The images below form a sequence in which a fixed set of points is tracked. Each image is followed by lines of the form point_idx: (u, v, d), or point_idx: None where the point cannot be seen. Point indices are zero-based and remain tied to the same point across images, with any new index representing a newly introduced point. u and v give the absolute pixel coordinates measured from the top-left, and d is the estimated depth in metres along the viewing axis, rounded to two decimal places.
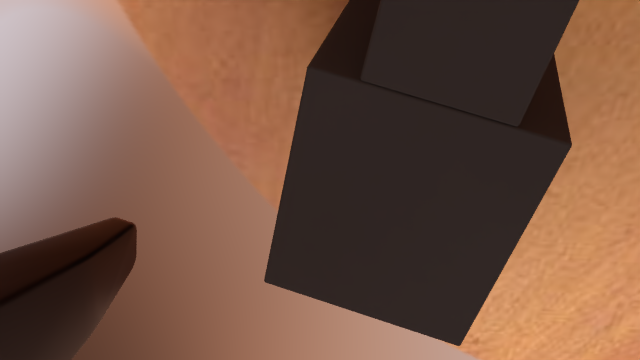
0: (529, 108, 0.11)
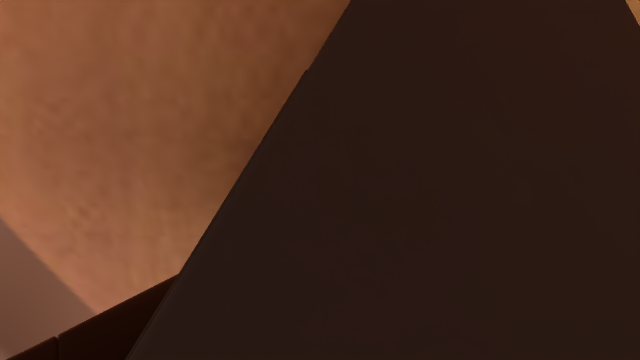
0: None
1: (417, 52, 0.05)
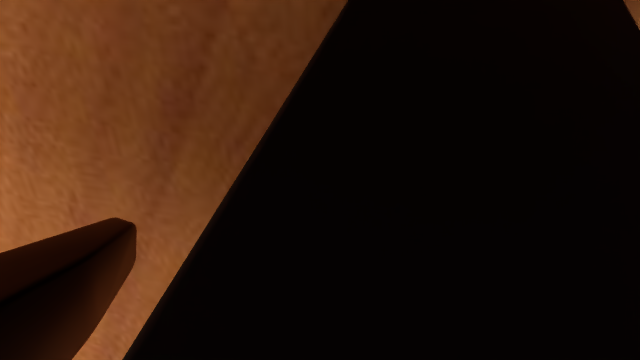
0: None
1: (418, 38, 0.05)
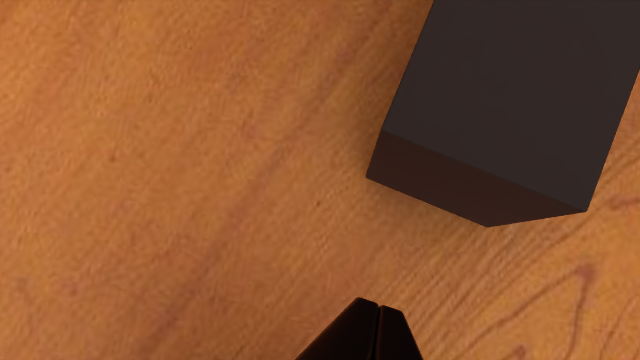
0: None
1: None
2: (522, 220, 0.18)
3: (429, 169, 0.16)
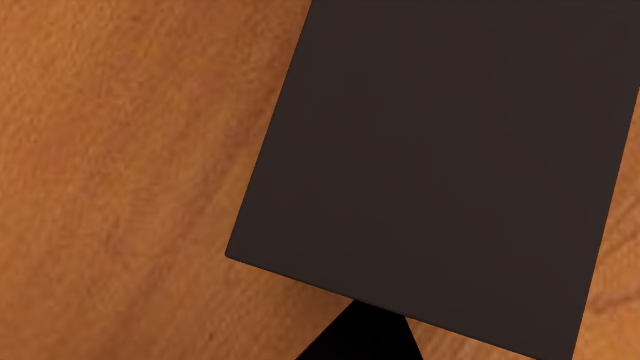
0: None
1: None
2: None
3: None
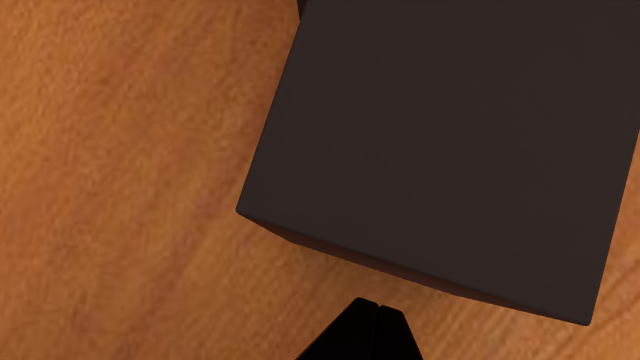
0: None
1: None
2: (494, 304, 0.12)
3: (341, 252, 0.10)
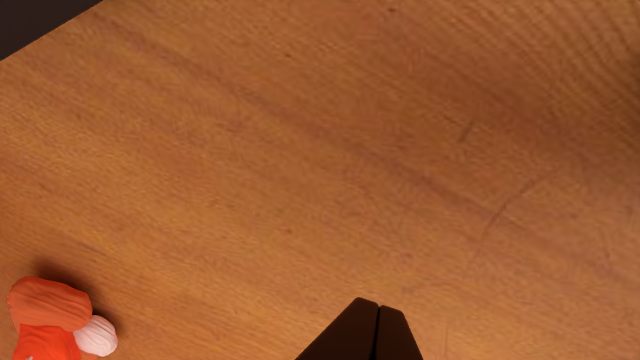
0: None
1: None
2: None
3: None
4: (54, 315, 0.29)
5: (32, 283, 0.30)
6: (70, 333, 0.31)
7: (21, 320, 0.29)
